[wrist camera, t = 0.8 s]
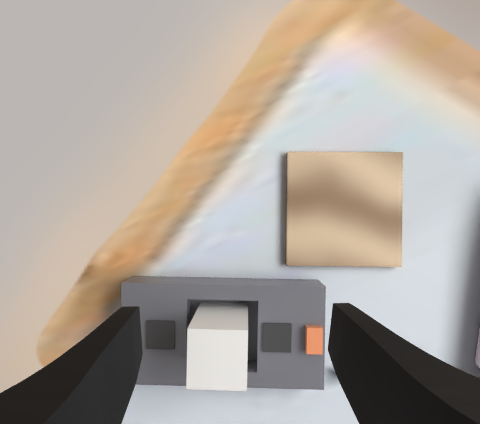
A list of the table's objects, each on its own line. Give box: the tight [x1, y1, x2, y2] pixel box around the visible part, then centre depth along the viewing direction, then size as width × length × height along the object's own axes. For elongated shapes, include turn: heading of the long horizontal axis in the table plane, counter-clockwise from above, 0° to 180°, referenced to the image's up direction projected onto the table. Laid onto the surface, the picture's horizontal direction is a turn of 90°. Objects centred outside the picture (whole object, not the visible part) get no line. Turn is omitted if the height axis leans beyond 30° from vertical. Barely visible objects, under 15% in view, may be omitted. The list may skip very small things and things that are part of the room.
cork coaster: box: [286, 152, 403, 267], centre depth 27 cm, size 10×10×1 cm
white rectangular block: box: [186, 302, 248, 391], centre depth 24 cm, size 4×4×6 cm
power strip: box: [121, 276, 326, 390], centre depth 26 cm, size 16×8×4 cm, turn 89°
